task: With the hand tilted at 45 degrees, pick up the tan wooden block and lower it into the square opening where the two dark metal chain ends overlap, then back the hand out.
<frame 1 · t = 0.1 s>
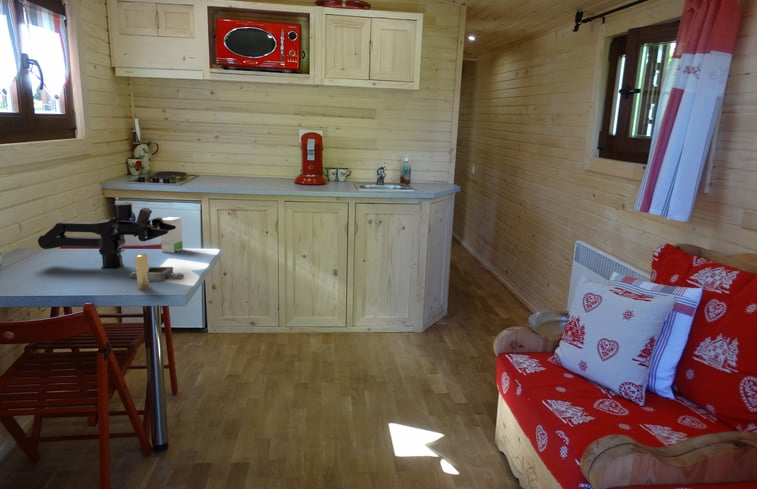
hand: (171, 229, 211), 17 cm above the table, tool horizontal, fingers open, 9 cm apart
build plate: (114, 253, 237), on the table
chain joint: (157, 277, 202), on the table
tan wooden block: (143, 288, 190), on the table
skincare box: (172, 251, 242), on the table
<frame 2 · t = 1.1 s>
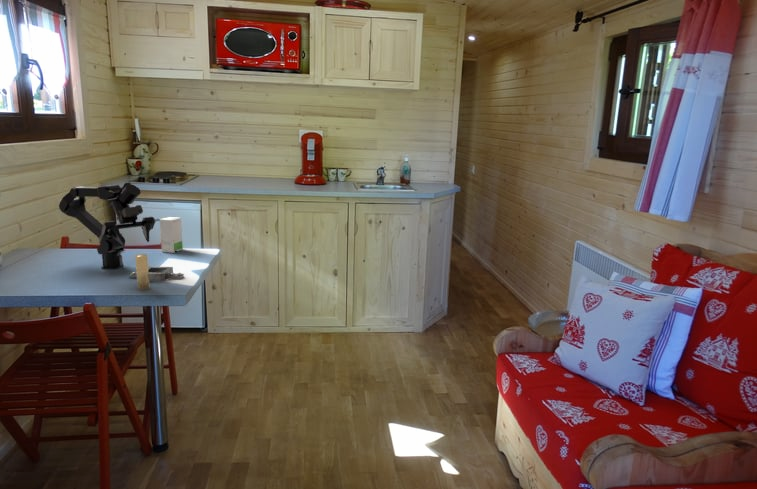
hand: (136, 243, 199), 14 cm above the table, tool tilted 45°, fingers open, 9 cm apart
nothing on the table moved.
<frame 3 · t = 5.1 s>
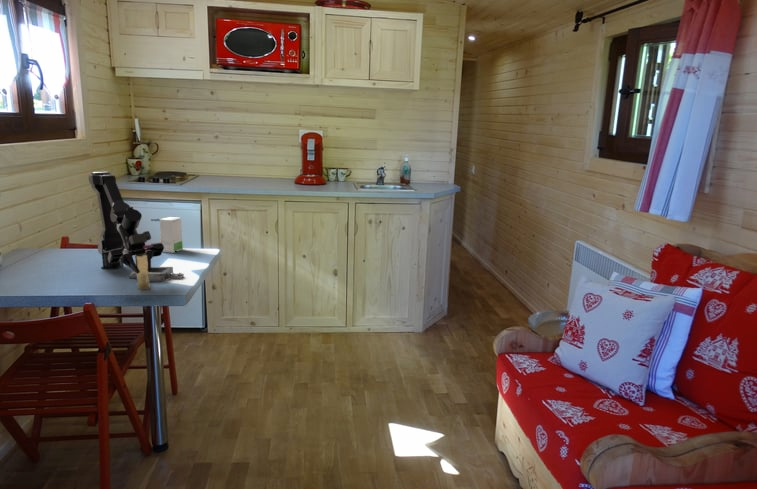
hand: (143, 271, 187), 7 cm above the table, tool tilted 45°, fingers closed on tan wooden block, 4 cm apart
tan wooden block: (143, 288, 190), on the table, touching gripper
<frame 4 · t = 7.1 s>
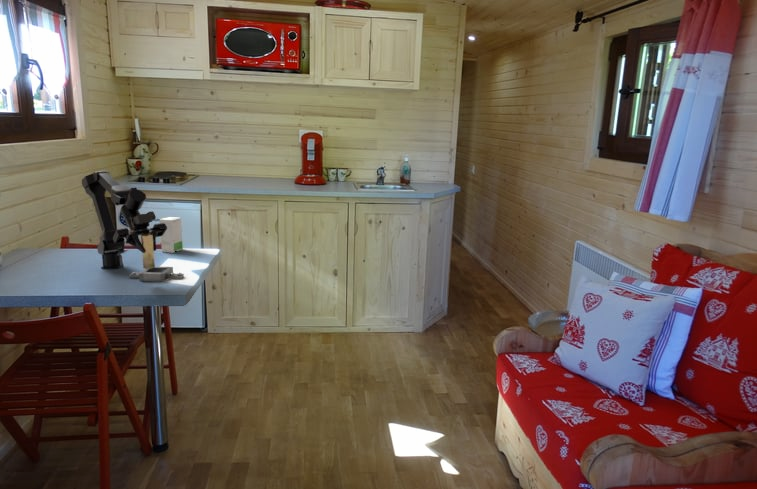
hand: (149, 251, 191), 13 cm above the table, tool tilted 45°, fingers closed on tan wooden block, 4 cm apart
tan wooden block: (149, 267, 193), point 6 cm above the table, touching gripper
when the fingers open (8 cm above the table, at t = 9.5 s): tan wooden block drops 1 cm, resting in chain joint.
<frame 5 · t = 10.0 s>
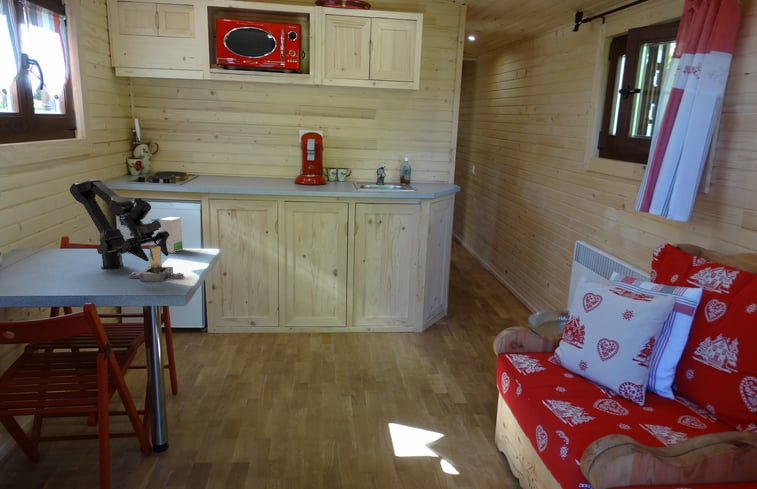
hand: (158, 258, 200), 8 cm above the table, tool tilted 45°, fingers open, 9 cm apart
tan wooden block: (156, 277, 203), resting in chain joint
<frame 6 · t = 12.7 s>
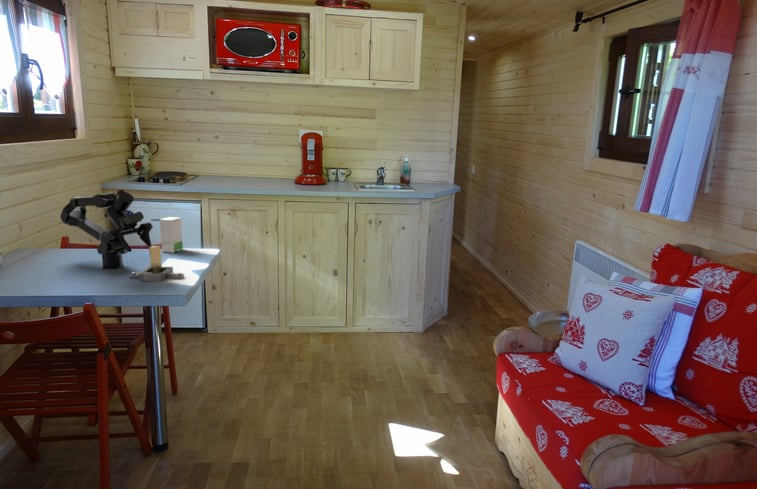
hand: (140, 248, 203), 10 cm above the table, tool tilted 45°, fingers open, 9 cm apart
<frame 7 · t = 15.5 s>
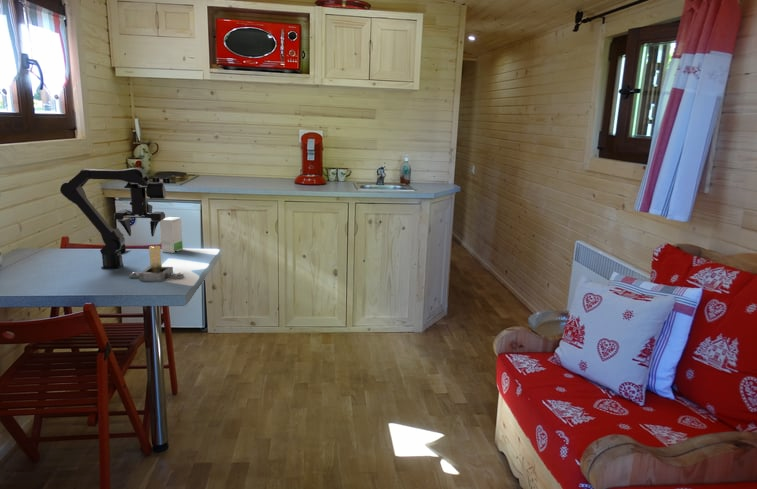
hand: (141, 236, 213), 13 cm above the table, tool pointing down, fingers open, 9 cm apart
at the end: tan wooden block 0.1 cm off-centre on the chain joint, point 0.0 cm above the chain joint's base; tan wooden block tilted 0°; the gripper is holding nothing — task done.
